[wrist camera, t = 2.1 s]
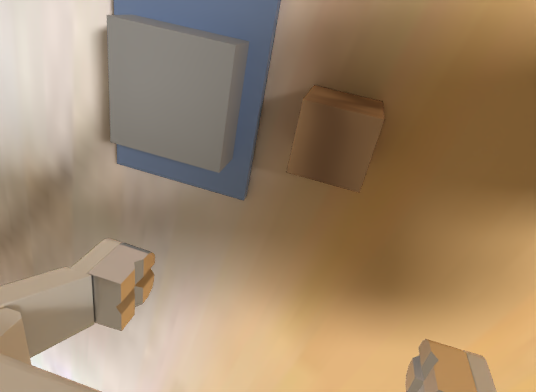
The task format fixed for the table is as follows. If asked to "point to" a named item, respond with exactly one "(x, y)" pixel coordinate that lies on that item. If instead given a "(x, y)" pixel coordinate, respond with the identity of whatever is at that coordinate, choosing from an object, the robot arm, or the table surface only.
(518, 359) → the table surface
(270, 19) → the base
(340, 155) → the walnut cube
